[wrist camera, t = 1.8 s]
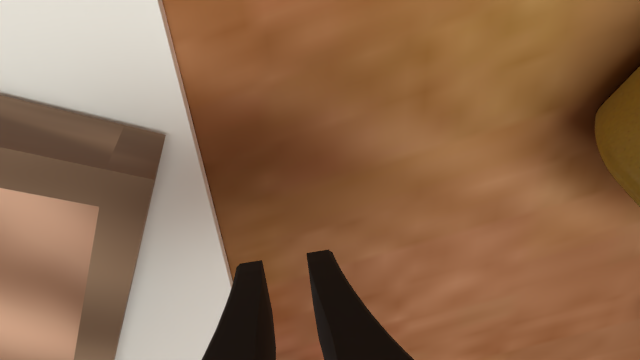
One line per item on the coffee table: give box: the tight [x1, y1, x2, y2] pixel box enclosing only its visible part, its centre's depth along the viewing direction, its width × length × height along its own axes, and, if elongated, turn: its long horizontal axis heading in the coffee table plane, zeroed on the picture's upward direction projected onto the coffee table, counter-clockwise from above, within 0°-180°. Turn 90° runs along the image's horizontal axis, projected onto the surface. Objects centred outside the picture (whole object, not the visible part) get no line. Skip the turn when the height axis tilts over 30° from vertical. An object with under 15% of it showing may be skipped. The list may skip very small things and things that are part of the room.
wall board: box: [0, 0, 233, 360], centre depth 21 cm, size 21×18×1 cm
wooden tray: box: [0, 95, 166, 360], centre depth 19 cm, size 15×9×4 cm, turn 160°
